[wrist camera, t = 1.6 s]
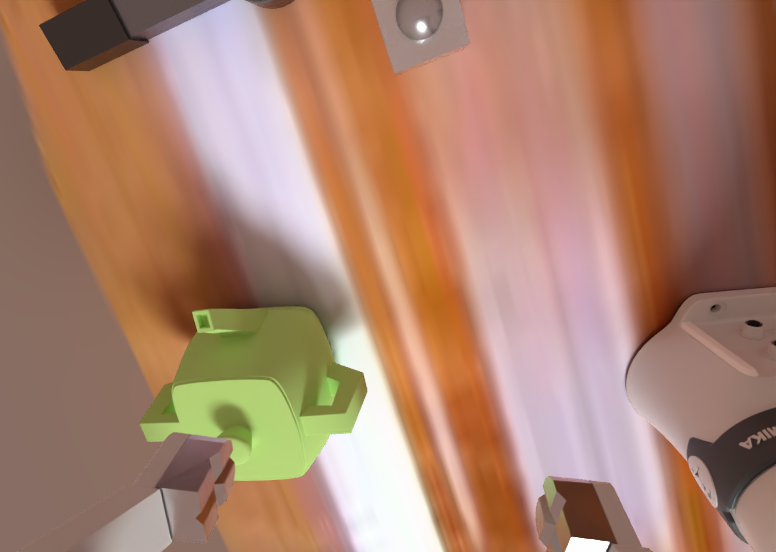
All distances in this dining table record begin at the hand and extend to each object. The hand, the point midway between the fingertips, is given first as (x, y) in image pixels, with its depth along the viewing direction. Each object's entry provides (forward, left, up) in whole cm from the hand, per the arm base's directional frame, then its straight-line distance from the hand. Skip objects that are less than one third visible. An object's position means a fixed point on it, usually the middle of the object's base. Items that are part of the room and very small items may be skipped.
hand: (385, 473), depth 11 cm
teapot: (+18, +10, -29) cm, 36 cm away
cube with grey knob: (-5, -12, -29) cm, 31 cm away
